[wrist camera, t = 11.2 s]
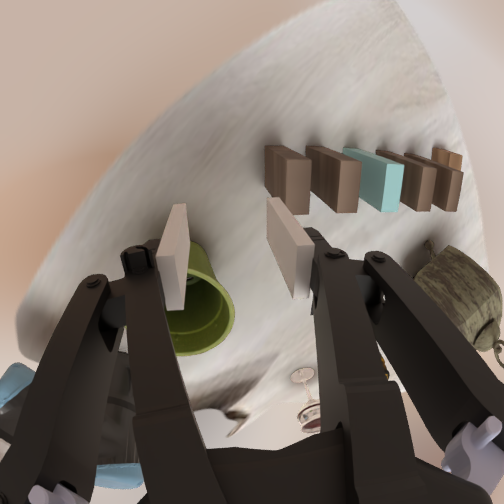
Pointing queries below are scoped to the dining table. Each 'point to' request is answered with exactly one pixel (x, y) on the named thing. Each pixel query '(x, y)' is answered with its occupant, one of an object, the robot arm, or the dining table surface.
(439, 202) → the domino
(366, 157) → the teal domino
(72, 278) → the dining table surface
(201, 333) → the plant pot
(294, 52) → the dining table surface
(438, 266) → the tabletop clock
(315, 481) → the robot arm
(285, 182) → the domino
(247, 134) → the dining table surface
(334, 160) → the domino
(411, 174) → the domino
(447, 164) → the block
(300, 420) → the wineglass
